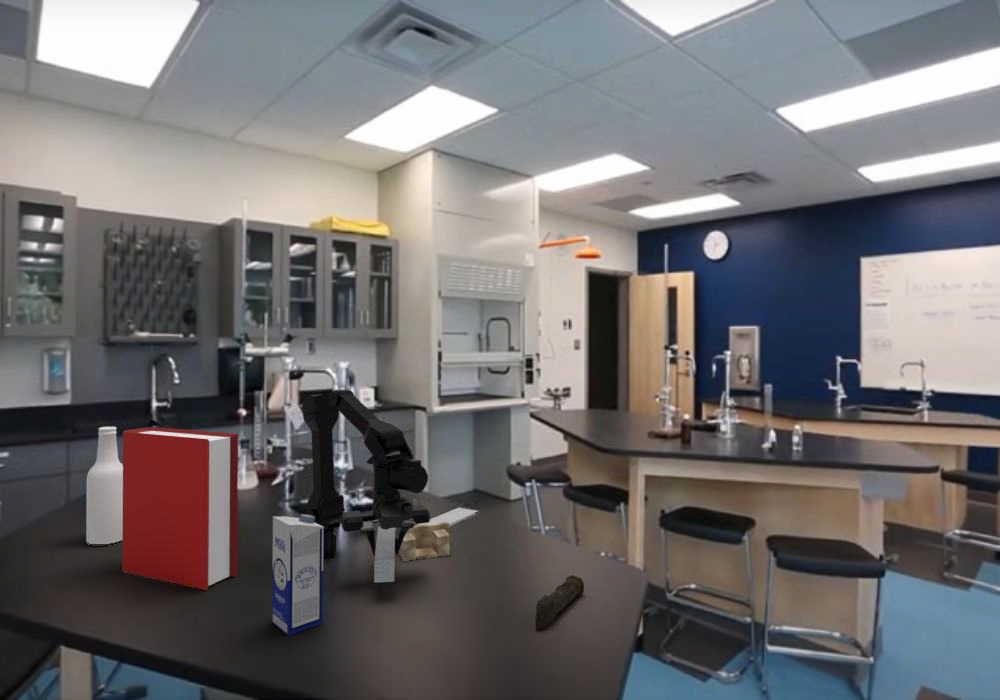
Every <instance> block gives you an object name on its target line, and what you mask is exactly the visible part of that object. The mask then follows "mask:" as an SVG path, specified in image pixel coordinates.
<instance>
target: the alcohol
mask: <svg viewBox="0 0 1000 700" xmlns="http://www.w3.org/2000/svg"><path fill="white" fill-rule="evenodd" d="M117 428H118V427H116V426H102V427H99V428H98V429H97V430H98V432H97V435H98V442H97V443H98V444H97V453H96V461H95V462H94V465H92V467H91V468H89V470H88V472H87V476H86V506H85V507H86V511H85V512H86V513H85V514H86V515H85V516H86V518H85V519H86V520H85V522H86V524H85V525H86V528H85V529H86V531H85V532H86V535H85V536H86V538H85V539H86V543H87V544H88V543H89V544H110V543H115V542H119V541H121V540H122V533H123V463H122V462H121V461H120V460H119V452H118V443H117V441H118V439H117ZM89 544H88V545H89Z"/></svg>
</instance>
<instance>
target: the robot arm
mask: <svg viewBox="0 0 1000 700" xmlns="http://www.w3.org/2000/svg"><path fill="white" fill-rule="evenodd" d="M301 409H302V413H303V420H304V423H305V424H306V425H307V427H308V428H309V431H311V453H312V455H311V456H312V458H311V459H312V481H313V484H312V485H313V490H312V493H311V494H310V496H309V498H308V499H307V505H306V512H305V514H306V515H311V516H314V517H315V520H314V522H315V523H317V524H319V525H321V526H323V559H326V558H334V557H336V554H335V553H336V552H337V534H336V532H335V530H334V529H337V528H338V529H339V528H340V527H342V530H343V532H356V531H359V532H360V534H364V535H365V536H366V538H367V541H368V544H369V545H368V546H369V547H370V550H371V553H372V556H373V559H375V550H376V537H375V534H376V530H375V528H374V526H373V525H374V524H376V523H379V527H381V528H382V529H389V528H396V532H395V556H398V555H399V550H400V547H401V544H402V541H403V539H404V536H405V534H406V532H407V531H408V530H409V529H410V528H413V527H414V526H415V524H416V525H418V524H421V523H428V522H430V518H431V515H430V511H429V509H428V508H426V506H425V505H423V504H413V503H412V502H413V501H408V502H402V501H401V495H400V493H401V492H400V491H405V492H408V493H413V494H419V493H421V492H422V491H423V490H425V488H426V487H427V484H428V482H429V481H428V480H429V475H428V472H427V470H426V468H425V467H424V466H422V460H421V459H414V455H413V453H412V449H410V446H409V445H408V442H407V440H406V438H405V435H404V433H403V431H402V430H401V429H400V428H398V427H396V426H395V425H393V424H392V423H390V422H385V421H384V420H380V419H379V418H378V417H377V416H376V415H375V414H374V413H373V412H372V411H371V410H370V409H369V408H368V407H367V406H365V405H364V403H362V402H361V400H359V399H358V398H357V397H356V396H355V394H354V392H353V391H352V390H350V389H334V390H333V391H330V392H328V393H323V394H322V393H321V394H310V395H307V397H306V398H305V399H304V400H303V402H302V404H301ZM340 413H341V415H342V416H344V417H345V418H346V420H348V422H350V423H351V424H352V426H354V428H356V429H357V430H358V432H359V433H360V434H361V435H362V436H363V443H364V446H365V447H366V448H367V449H368V451H369V453H370V454H371V457H369V458H368V459H367V460H366V464H368V465H372V513H368V514H362V512H361V511H360V510H351V511H350V510H349V511H346V510H345V505H344V504H345V503H344V502H345V501H344V500H345V497H344V495H343V494H340V493H339V492H338V490H337V489H336V488H335V487H336V486H335V485H336V484H335V483H336V482H335V463H334V462H335V461H334V436H333V434H334V433H333V429H334V427H335V425H336V424H337V422H338V420H339V414H340ZM413 522H414V523H415V524H414V523H413Z"/></svg>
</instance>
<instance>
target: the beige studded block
mask: <svg viewBox="0 0 1000 700" xmlns="http://www.w3.org/2000/svg"><path fill="white" fill-rule="evenodd" d="M395 532H396V528H395ZM450 543H451V540H450V527H449V523H448V522H442V523H433V524H424V525H418V524H416V525H415V524H414V527H413V528H410V529H409V530H408V531H407V532H406V534H405V536H404V539H403V541H402V544H401V547H400V550H399V553H398V555H399V556H401V557H400V558H401V559H402V561H403V562H410V560H412V561H416V559H419V560H424V559H423V558H426V559H432V558H431V557H434V558H438V556H441V557H448V556H450V554H451V552H450V551H451V549H450V545H451V544H450ZM447 555H448V556H447Z"/></svg>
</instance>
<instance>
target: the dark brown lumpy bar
mask: <svg viewBox="0 0 1000 700" xmlns="http://www.w3.org/2000/svg"><path fill="white" fill-rule="evenodd" d="M584 590H585V586H584V581H583V579H582V578H581V577H578V576H577V575H569V576H567V577H566V578H565V581H564V582H563V583H561V585H558V586H556V588H555V590H554V591H553V592H551V594H549V595H546V594H545V595H544V596H541V598H540V599H538V601H537V603H536V608H535V630H541V629H542V628H545V627H547V626H548V625H549V624H551V623H554V621H555V617H556V615H557V614H559V612H561V611H562V610H563V609H565V608H566V606H567V605H568V604H569V603H571V602H572V601H573V600H574V598H576V597H577V596H582V595H583V594H584V593H585V592H584Z"/></svg>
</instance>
